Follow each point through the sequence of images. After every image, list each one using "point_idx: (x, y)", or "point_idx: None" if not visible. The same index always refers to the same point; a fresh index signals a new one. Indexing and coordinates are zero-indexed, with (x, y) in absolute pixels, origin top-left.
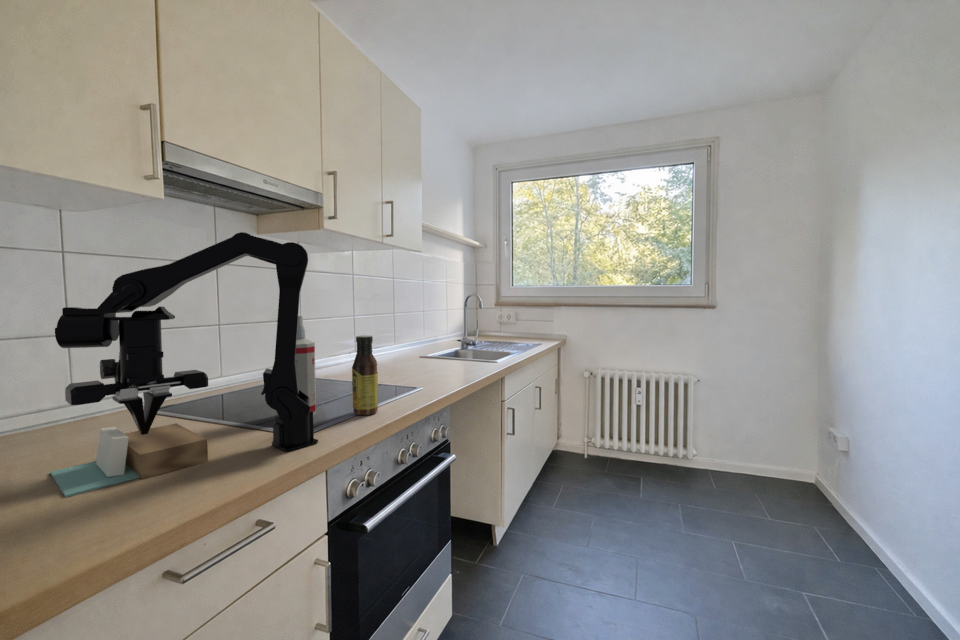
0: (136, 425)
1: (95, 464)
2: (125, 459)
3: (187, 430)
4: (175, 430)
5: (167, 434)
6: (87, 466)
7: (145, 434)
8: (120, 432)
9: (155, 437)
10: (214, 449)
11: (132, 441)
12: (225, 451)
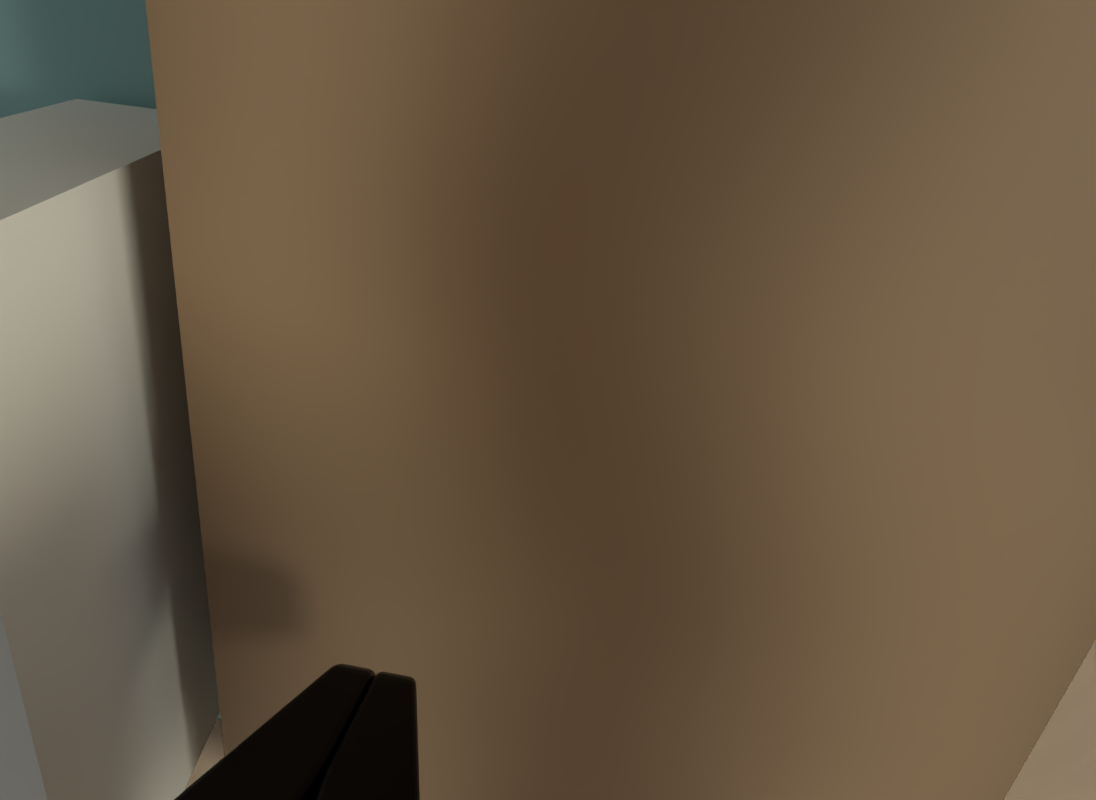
0: (214, 779)
1: (85, 67)
2: (206, 734)
3: (1027, 694)
4: (953, 534)
5: (736, 633)
6: (12, 66)
7: (544, 321)
8: (9, 739)
9: (560, 625)
10: (1078, 669)
11: (289, 531)
12: (1059, 795)
